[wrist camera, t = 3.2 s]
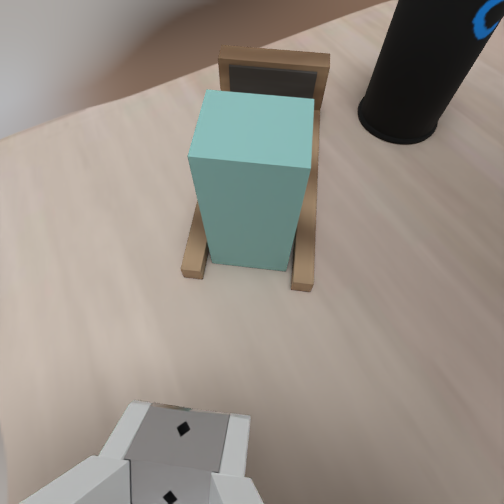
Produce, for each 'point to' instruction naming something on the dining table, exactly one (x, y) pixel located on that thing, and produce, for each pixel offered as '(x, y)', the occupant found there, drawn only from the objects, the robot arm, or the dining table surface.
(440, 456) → the dining table surface
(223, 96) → the teal rectangular block
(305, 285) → the channel
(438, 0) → the aerosol can
